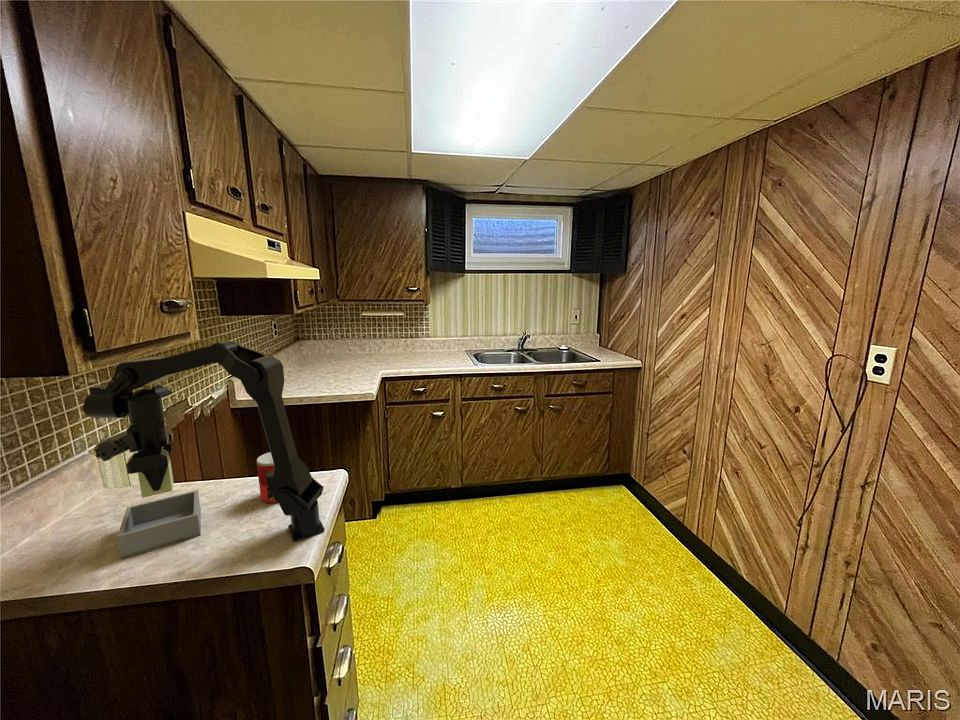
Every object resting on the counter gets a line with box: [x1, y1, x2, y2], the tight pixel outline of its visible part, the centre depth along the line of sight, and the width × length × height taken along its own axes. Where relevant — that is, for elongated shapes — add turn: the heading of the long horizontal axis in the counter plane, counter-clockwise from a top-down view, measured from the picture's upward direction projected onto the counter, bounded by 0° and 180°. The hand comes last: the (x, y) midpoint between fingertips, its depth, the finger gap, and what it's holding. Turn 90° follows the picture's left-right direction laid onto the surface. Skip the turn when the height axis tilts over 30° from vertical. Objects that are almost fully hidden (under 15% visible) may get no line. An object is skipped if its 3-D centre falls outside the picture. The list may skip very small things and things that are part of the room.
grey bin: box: [116, 489, 202, 560], centre depth 86 cm, size 13×13×5 cm
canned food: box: [256, 451, 277, 504], centre depth 100 cm, size 8×8×11 cm
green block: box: [137, 456, 174, 499], centre depth 84 cm, size 5×5×6 cm
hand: (157, 485), depth 84 cm, fingers closed on green block, 5 cm apart
